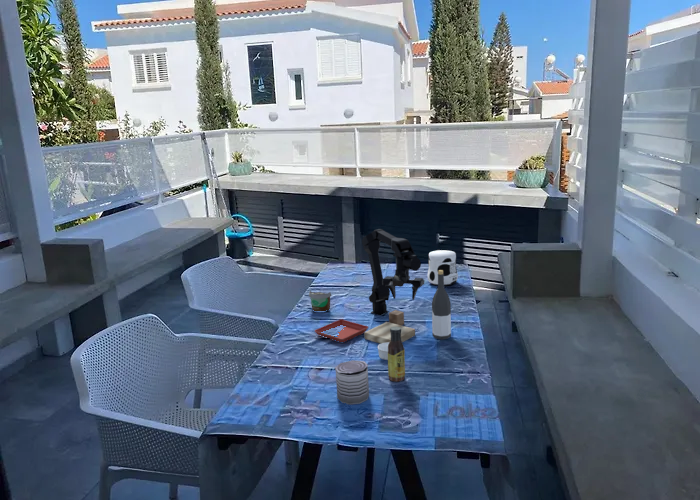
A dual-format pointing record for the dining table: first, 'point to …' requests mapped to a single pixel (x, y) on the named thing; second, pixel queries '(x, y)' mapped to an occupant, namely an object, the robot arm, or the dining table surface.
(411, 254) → the robot arm
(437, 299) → the wine bottle
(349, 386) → the can
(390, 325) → the birch base
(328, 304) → the food container
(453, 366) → the dining table surface
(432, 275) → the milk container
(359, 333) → the plant saucer
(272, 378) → the dining table surface
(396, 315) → the walnut block
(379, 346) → the ramekin
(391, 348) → the sauce bottle
